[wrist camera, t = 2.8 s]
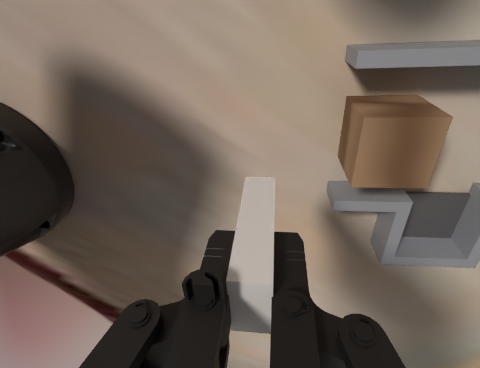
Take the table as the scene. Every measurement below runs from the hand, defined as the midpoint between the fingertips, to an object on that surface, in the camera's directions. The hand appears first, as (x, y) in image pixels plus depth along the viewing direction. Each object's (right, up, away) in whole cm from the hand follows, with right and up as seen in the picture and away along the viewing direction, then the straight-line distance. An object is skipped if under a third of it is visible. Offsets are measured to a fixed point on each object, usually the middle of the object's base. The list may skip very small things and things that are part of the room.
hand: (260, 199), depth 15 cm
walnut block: (+10, +5, +7) cm, 13 cm away
